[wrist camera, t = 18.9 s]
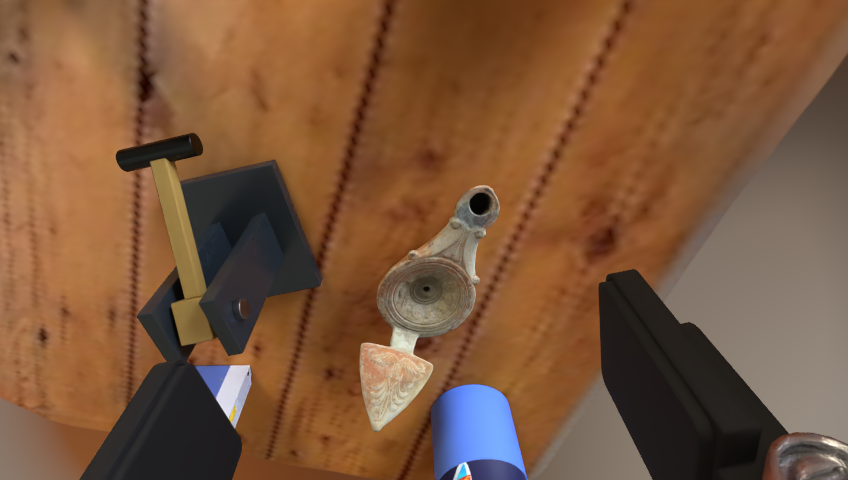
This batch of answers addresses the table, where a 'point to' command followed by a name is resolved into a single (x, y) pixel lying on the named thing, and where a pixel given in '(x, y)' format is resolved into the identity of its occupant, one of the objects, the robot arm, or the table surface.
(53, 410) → the table surface
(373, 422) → the oil lamp
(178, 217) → the switch lever
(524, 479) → the water bottle
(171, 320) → the switch base
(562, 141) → the table surface
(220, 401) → the walkman
